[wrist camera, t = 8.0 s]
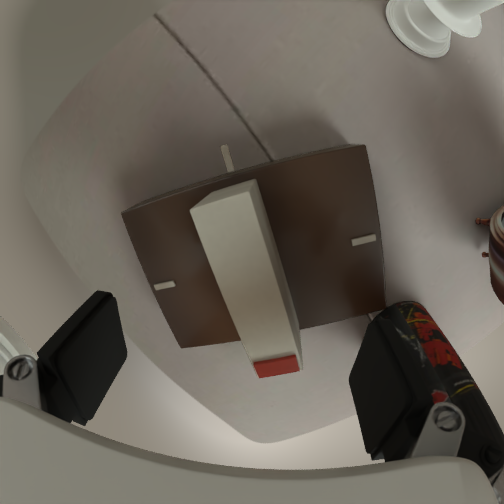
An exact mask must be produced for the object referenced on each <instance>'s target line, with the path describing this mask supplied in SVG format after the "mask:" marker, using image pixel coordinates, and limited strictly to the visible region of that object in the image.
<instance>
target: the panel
mask: <svg viewBox="0 0 504 504" xmlns="http://www.w3.org/2000/svg"><path fill="white" fill-rule="evenodd" d="M220 148H221V151H222V154H223V158H224V161H225V164H226V168H227V171H228V172H231V171H235V168H234V165H233V162H232V158H231V155H230V151H229V148H228V145H227V144H226V145H222V146H220ZM252 179H256V181H257V184H258V187H259V190H260V193H261V197H262V200H263V203H264V206H265V210H266V213H267V216H268V219H269V223H270V226H271V229H272V232H273V236H274V239H275V242H276V246H277V249H278V253H279V256H280V259H281V263H282V266H283V270H284V273H285V276H286V280H287V283H288V287H289V290H290V294H291V297H292V301H293V304H294V308H295V312H296V315H297V319H298V322H299V330H300V329H305V328H310V327H314V326H319V325H323V324H328V323H332V322H336V321H340V320H345V319H349V318H353V317H356V316H360V315H364V314H368V313H372V312H375V311H379V310H382V309H386V290H385V273H384V261H383V250H382V240H381V231H380V223H379V216H378V209H377V203H376V196H375V190H374V185H373V179H372V174H371V169H370V164H369V159H368V154H367V150H366V146H365V145H360V144H349V145H343V146H338V147H333V148H328V149H324V150H319V151H314V152H310V153H305V154H301V155H296V156H292V157H288V158H284V159H280V160H276V161H272V162H268V163H264V164H260V165H256V166H253V167H249V168H245V169H242V170H238V171H235V172H231V173H228V174H224V175H221V176H218V177H214V178H211V179H208V180H205V181H201V182H198V183H195V184H192V185H189V186H186V187H183V188H180V189H177V190H174V191H171V192H168V193H165V194H162V195H159V196H157V197H154V198H151V199H148V200H145V201H143V202H141V203H139V204H137V205H135V206H133V207H131V208H129V209H127V210H125V211H123V212H121V215H122V218H123V220H124V223H125V226H126V228H127V231H128V234H129V236H130V239H131V241H132V244H133V246H134V249H135V251H136V254H137V256H138V259H139V261H140V264H141V266H142V268H143V271H144V273H145V275H146V277H147V280H148V282H149V284H150V286H151V289H152V291H153V293H154V295H155V297H156V300H157V302H158V304H159V306H160V308H161V310H162V312H163V314H164V316H165V318H166V320H167V322H168V324H169V326H170V328H171V330H172V332H173V334H174V336H175V338H176V340H177V342H178V344H179V346H180V348H188V347H197V346H205V345H213V344H220V343H227V342H233V341H240V340H241V338H240V336H239V334H238V332H237V329H236V327H235V324H234V322H233V320H232V317H231V315H230V313H229V310H228V308H227V305H226V303H225V300H224V298H223V296H222V293H221V291H220V288H219V286H218V283H217V281H216V278H215V276H214V273H213V271H212V268H211V266H210V263H209V261H208V258H207V255H206V253H205V250H204V248H203V245H202V242H201V240H200V237H199V234H198V232H197V229H196V226H195V224H194V221H193V218H192V216H191V213H190V209H191V208H193V207H194V206H195V205H196V204H198V203H199V202H200V201H201V200H203V199H204V198H205V197H206V196H208V195H209V194H210V193H211V192H214V191H217V190H220V189H223V188H226V187H229V186H233V185H236V184H239V183H242V182H246V181H249V180H252Z"/></svg>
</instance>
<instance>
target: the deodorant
mask: <svg viewBox="0 0 504 504" xmlns="http://www.w3.org/2000/svg"><path fill="white" fill-rule="evenodd" d="M375 319H390V320H391V321H392V323H393V325H394V326H395V328H396V330H397V331H398V333H399V335H400V337H401V338H402V340H403V342H404V344H405V345H406V347H407V349H408V351H409V353H410V354H411V356H412V358H413V360H414V362H415V363H416V365H417V367H418V369H419V371H420V373H421V375H422V377H423V379H424V380H425V382H426V384H427V386H428V388H429V390H430V392H431V394H432V396H433V399H432V400H433V402H434V404H436V403H440V402H449V403H452V404H454V405H456V406H457V407H458V408H459V409H460V410H461V411H462V412H463V414H464V417H465V427H466V428H468V429H470V430H472V431H474V432H476V433H478V434H481V435H483V436H485V437H487V438H489V439H491V440H494V441H496V442H497V443H499V444H500V445H501V447H502V448H503V450H504V434H503V432H502V430H501V428H500V426H499V424H498V422H497V420H496V418H495V416H494V414H493V412H492V411H491V409H490V407H489V405H488V403H487V402H486V400H485V398H484V396H483V395H482V393H481V391H480V389H479V388H478V386H477V384H476V383H475V381H474V379H473V378H472V377H471V374H470V373H469V371H468V370H467V368H466V367H465V366H464V363H463V362H462V360H461V359H460V357H459V356H458V354H457V353H456V351H455V350H454V348H453V347H452V345H451V344H450V342H449V341H448V339H447V338H446V337H445V335H444V334H443V332H442V331H441V329H440V328H439V327H438V325H437V324H436V323H435V321H434V320H433V318H432V317H431V316H430V314H429V313H428V312H427V310H426V309H425V308H424V307H423V306H422V305H421V304H419V303H416V302H413V301H404V302H400V303H396V304H394V305H392V306H390V307H388V308H386V309H385V310H383V311H382V312H381V313H379V314H378V315H377V316H376V318H375ZM375 319H374V320H375ZM374 320H373V321H374ZM373 321H372V322H371V323H373Z"/></svg>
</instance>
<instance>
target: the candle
mask: <svg viewBox="0 0 504 504" xmlns="http://www.w3.org/2000/svg"><path fill="white" fill-rule="evenodd" d="M503 3H504V0H390V1H389V2H388V3H387V6H386V17H387V21H388V23H389V25H390V27H391V29H392V31H393V32H394V33H395V35H396V36H397V37H398V38H399V39H400V41H401V42H403V43H404V44H405V45H406V46H407V47H408V48H410V49H411V50H413V51H414V52H416V53H418V54H420V55H423V56H426V57H430V58H438V57H441V56H443V55H445V54H446V53H447V52H448V50H449V47H450V36H451V30H452V31H453V32H455V33H457V34H459V35H461V36H464V37H470V38H472V37H476V36H478V35H479V34H480V32H481V29H482V22H481V17H480V14H481V13H483V12H485V11H487V10H489V9H491V8H494V7H496V6H498V5H501V4H503Z"/></svg>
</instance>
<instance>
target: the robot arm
mask: <svg viewBox="0 0 504 504" xmlns="http://www.w3.org/2000/svg"><path fill="white" fill-rule="evenodd" d="M37 355H38V357H39V358H38V359H37V360H35V359H34V357H32V356H30V355H26V354H24V355H18V356H15V357H13V356H12V355H11V354H10V353H9V351H8V350H7V349H6V348H5V347H4V346H3V345H2V344H1V343H0V504H504V450H503V448H502V447H501V445H500V444H499V443H497V442H496V441H494V440H491V439H489V438H487V437H485V436H483V435H481V434H478V433H476V432H474V431H472V430H470V429H468V428H466V427H465V417H464V414H463V412H462V411H461V410H460V409H459V408H458V407H457V406H456V405H454V404H452V403H449V402H440V403H436V404H434V402H433V400H432V399H433V396H432V394H431V392H430V390H429V388H428V386H427V384H426V382H425V380H424V379H423V377H422V375H421V373H420V371H419V369H418V367H417V365H416V363H415V362H414V360H413V358H412V356H411V354H410V353H409V351H408V349H407V347H406V345H405V344H404V342H403V340H402V338H401V337H400V335H399V333H398V331H397V330H396V328H395V326H394V325H393V323H392V321H391V320H390V319H375V320H374V321H373V323H369V325H368V327H367V330H366V333H365V336H364V339H363V342H362V344H361V347H360V350H359V352H358V355H357V358H356V360H355V363H354V365H353V368H352V370H351V373H350V376H349V385H350V388H351V392H352V396H353V400H354V404H355V407H356V411H357V415H358V419H359V424H360V428H361V432H362V436H363V440H364V445H365V449H366V452H367V453H370V454H371V459H372V460H379V459H385V462H384V463H378V464H371V465H363V466H355V467H343V468H331V469H315V470H313V469H312V470H274V469H255V468H254V469H253V468H242V467H232V466H223V465H216V464H209V463H202V462H197V461H191V460H186V459H181V458H176V457H172V456H167V455H163V454H159V453H155V452H151V451H147V450H143V449H140V448H137V447H133V446H130V445H127V444H124V443H120V442H117V441H114V440H112V439H109V438H106V437H103V436H100V435H98V434H95V433H93V432H90V431H87V430H85V429H82V428H80V427H77V426H75V425H73V424H70V423H71V421H72V420H73V421H74V422H76V423H79V424H81V425H83V426H85V425H86V423H87V421H88V420H91V419H92V418H93V417H94V415H95V413H96V411H97V409H98V407H99V406H100V404H101V402H102V400H103V398H104V397H105V395H106V393H107V391H108V390H109V388H110V386H111V384H112V383H113V381H114V379H115V377H116V376H117V374H118V372H119V370H120V369H121V367H122V365H123V364H124V362H125V360H126V358H127V348H126V345H125V340H124V335H123V331H122V326H121V321H120V317H119V311H118V306H117V301H116V298H115V297H113V295H112V293H110V292H104V291H96V292H95V293H94V294H93V295H92V296H91V297H90V298H89V299H88V300H87V301H86V302H85V303H84V304H83V305H82V306H81V307H80V308H79V309H78V310H77V311H76V312H75V313H74V314H73V315H72V316H71V317H70V318H69V319H68V320H67V321H66V322H65V323H64V324H63V325H62V326H61V327H60V328H59V329H58V330H57V331H56V332H55V333H54V335H53V336H52V337H51V338H50V339H49V340H48V341H47V342H46V343H45V344H44V345H43V347H42V348H41V349H40V350H39V351H38V352H37Z"/></svg>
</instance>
